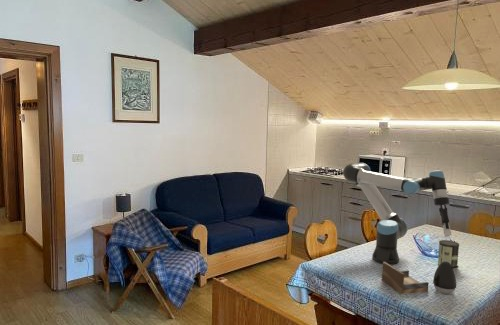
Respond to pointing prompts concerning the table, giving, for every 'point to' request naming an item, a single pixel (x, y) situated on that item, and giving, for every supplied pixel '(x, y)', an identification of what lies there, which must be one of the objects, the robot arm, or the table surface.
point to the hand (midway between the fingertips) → (448, 235)
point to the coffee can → (448, 252)
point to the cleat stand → (402, 280)
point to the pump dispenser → (445, 278)
